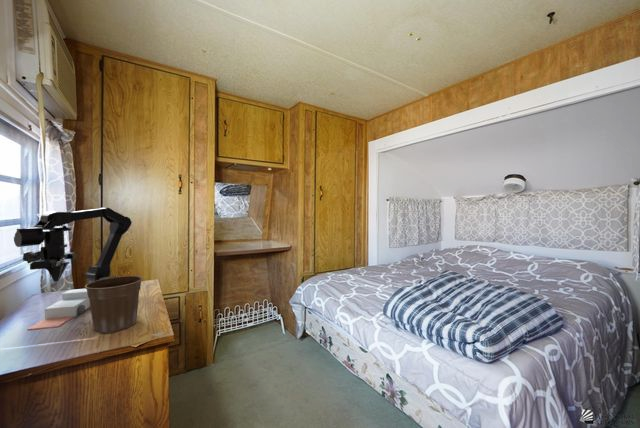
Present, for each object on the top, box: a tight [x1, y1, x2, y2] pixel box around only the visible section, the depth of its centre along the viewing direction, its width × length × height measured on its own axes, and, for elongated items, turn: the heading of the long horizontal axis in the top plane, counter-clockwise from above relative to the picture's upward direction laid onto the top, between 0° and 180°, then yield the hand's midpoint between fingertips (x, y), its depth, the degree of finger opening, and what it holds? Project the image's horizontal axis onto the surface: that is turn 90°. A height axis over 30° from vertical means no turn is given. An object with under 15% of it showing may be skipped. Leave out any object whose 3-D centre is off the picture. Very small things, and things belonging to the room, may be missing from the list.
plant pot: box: [84, 275, 143, 334], centre depth 94 cm, size 16×16×16 cm
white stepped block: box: [44, 288, 91, 319], centre depth 106 cm, size 15×11×7 cm
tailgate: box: [27, 316, 75, 331], centre depth 95 cm, size 1×9×8 cm
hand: (56, 281), depth 106 cm, fingers closed
